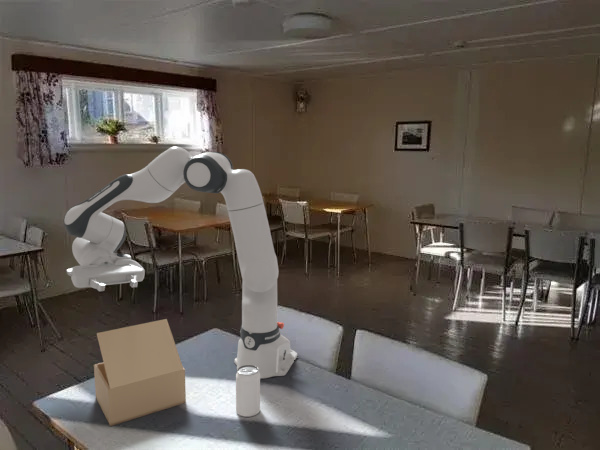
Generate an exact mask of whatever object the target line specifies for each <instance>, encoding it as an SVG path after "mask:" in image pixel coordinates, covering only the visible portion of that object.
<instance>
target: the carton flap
mask: <svg viewBox="0 0 600 450" xmlns="http://www.w3.org/2000/svg"><path fill="white" fill-rule="evenodd" d="M96 337H97V341H98V345H99V348H100V353H101V358H102V361H103V362H104V366H105V370H106V374H107V378H108V382H109V387H110V389H114V388H118V387H121V386H125V385H129V384H132V383H136V382H140V381H143V380H147V379H151V378H154V377H158V376H162V375H165V374H169V373H173V372H176V371H180V370H183V368H184V366H183V363H182V360H181V358H180V355H179V352H178V347H177V345H176V342H175V340H174V336H173V333H172V330H171V328H170V325H169V322H168V319H167V318H165V319H160V320H155V321H150V322H145V323H140V324H139V323H138V324H135V325H129V326H125V327H121V328H116V329H110V330H105V331H102V332H97V333H96ZM103 362H102V363H103Z"/></svg>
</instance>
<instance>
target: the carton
mask: <svg viewBox="0 0 600 450" xmlns="http://www.w3.org/2000/svg"><path fill="white" fill-rule="evenodd" d="M93 371H94V372H93V374H94V375H93V376H94V389H95V390H94V391H95V399H96V401H97V403H98V405H99V407H100V409H101V411H102V413H103V414H104V417H105V419H106V420H107V423H108V425H109V427H114V426H115V425H116V426H117V425H119V424H123V423H126V422H129V421H133V420H135V419H139V418H141V417H142V418H143V417H145V416H148V415H151V414H154V413H158V412H161V411H164V410H167V409H170V408H174V407H176V406H180V405H183V404H186V403H187V397H186V395H187V394H186V393H187V392H186V369H185V368H184V367H183V370H180V371H176V372H173V373H169V374H165V375H162V376H158V377H154V378H151V379H147V380H143V381H140V382H136V383H132V384H129V385H125V386H121V387H118V388H114V389H110V387H109V382H108V378H107V374H106V370H105V366H104V362H99V363H95V364H93Z"/></svg>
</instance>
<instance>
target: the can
mask: <svg viewBox="0 0 600 450" xmlns="http://www.w3.org/2000/svg"><path fill="white" fill-rule="evenodd" d="M236 370H237V369H236ZM260 410H261V378H260V373H259V369H258V367H256V366H254V365H244V366H241V367H239V368H238V370H237V372H236V374H235V411H236V413H237V414H238V415H239V417H242V418H252V417H256V415H258V414H259V412H260Z"/></svg>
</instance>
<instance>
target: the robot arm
mask: <svg viewBox="0 0 600 450" xmlns="http://www.w3.org/2000/svg"><path fill="white" fill-rule="evenodd" d="M185 183H186V185H187V186H188V187H189V188H190V189H192V190H193V191H196V192H199V193H200V192H201V193H210V194H219V193H221V195H222V196H223V198H224V201H225V206H226V209H227V213H228V214H227V215H228V219H229V222H230V226H231V230H232V234H233V238H234V239H233V240H234V243H235V244H234V245H235V249H236V256H237V261H238V265H239V270H240V274H241V275H240V276H241V278H242V283H241V284H242V285H241V286H242V288H241V289H242V292H241V293H242V296H241V298H242V299H241V326H240V331H239V333H240V339H238V342H237V343H238V344H237V357H235V358H234V360H233V361H234V362H233V363H234V364H235V365H236V370H238V368H239V367H241V366H244V365H254V366H256V367H258V369H259V373H260V379H268V378H272V377H283V376H286V375H287V373H288V371H289V370H290V369H291V367H292V365H293V364H294V362H295V361H296V359H297V357H298V352H296V351H295V350H293V349H292V348H291V341H290V340H289V339H288V338H287V337H285V336H284V335H283V334H281V331H280V330H283V329H284V327H285V323H284V322H280V321H278V278H279V274H280V273H279V272H280V271H279V265H278V257H277V255H276V252H275V248H274V242H273V239H272V235H271V234H272V233H271V229H270V225H269V220H268V216H267V211H266V207H265V203H264V199H263V194H262V192H261V188H260V186H259V183H258V180H257V178H256V176H255V175H254V173H253V172H252V171H250V170H249V169H245V168H237V169H234V166H233V162H232V160H231V158H229V156H227V155H226V154H224V153H222V152H220V151H207V152H202V153H199V154H196V155H194V156H193V155H192V154H191V153H190V152H189V151H188V150H187V149H185V148H183V147H181V146H171V147H169V148H168V149H166V150H165V151H162V152H161V153H160V154H158V156H156V157H154V159H153V160H152V161H150V162H149V163H148V164H147V165H146V166H145V167H143V168H142V169H140V170H138V171H135V172H133V173H130V174H122V175H120V176H118V177H116V178H115V179H113V180H112V181H110V182H109V183H107V184H106V185H104V186H103V187H102V188H100V189H99V190H97V191H96V192H95V193H93V194H92V195H91V196H88V197H87V198H86V199H85V200H83V201H81V202H78V203H77V204H74V205H73V206H71V207H70V208H69V209H68V210H67V212H66V213H65V215H64V216H63V225H64V228H65V230H66V232H67V234H68V235H69V236H72V237H75V238H74V240H73V242H72V244H71V245H72V246H71V249H72V251H71V252H72V254H73V255H72V256H73V257H74V259H75V260H76V262H77V263H78V265H75V266H73V267H70V268H68V269H66V275H68V276H70V277H71V278H70V279H71V282H72V284H73V286H74V287H75V288H78V289H80V288H81V289H82V288H93V289H95V290H97V291H98V292H104V291H105V289H106V286H111V285H120V284H128V283H129V286H130V287H131V288H138V284H139V283H138V282H143V280H144V279H145V273H146V270H145V269H144V267H143V266H142V265H141V264H140V263H139V262H137V261H136V260H135V259H134V260H133V259H132V256H131V255H130V254H124V253H118V252H117V251H118V250H119V249H120V248H121V247H122V246H123V244H124V242H125V241H126V237H127V231H126V230H127V229H126V226H125V223H124V222H123V220H120V219H118V218H115V217H113V216H112V215H109V214H106V213H104V211H105V210H106V209H107V208H109V207H110V206H112V205H113V204H116V203H117V202H121V201H137V202H143V203H149V204H159V203H161V202H164V201H165V200H167V199H168V198H170V197H171V196H172V195H173V194H174V193H175V192H176V191H177V190H178V189H180V187H181V186H183V184H185ZM116 252H117V253H116ZM294 360H295V361H294Z"/></svg>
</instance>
